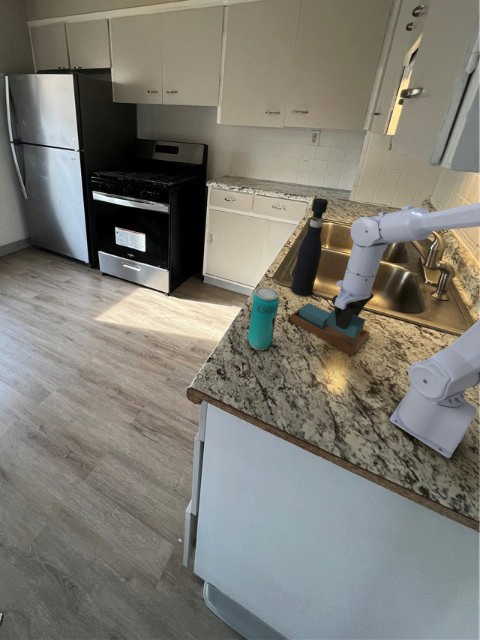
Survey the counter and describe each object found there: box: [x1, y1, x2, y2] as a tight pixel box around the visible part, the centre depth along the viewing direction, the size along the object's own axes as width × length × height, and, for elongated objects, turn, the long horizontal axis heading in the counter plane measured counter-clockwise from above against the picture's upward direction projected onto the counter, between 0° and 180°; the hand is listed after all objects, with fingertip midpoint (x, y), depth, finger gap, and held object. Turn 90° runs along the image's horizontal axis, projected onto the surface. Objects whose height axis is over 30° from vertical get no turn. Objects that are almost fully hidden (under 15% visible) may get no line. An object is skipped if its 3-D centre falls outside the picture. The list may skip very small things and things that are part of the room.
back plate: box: [289, 304, 371, 356], centre depth 83 cm, size 17×9×2 cm, turn 41°
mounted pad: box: [299, 302, 331, 329], centre depth 85 cm, size 7×4×3 cm, turn 41°
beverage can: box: [247, 286, 280, 351], centre depth 74 cm, size 6×6×15 cm
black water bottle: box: [291, 197, 329, 297], centre depth 94 cm, size 6×6×30 cm
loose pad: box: [326, 309, 366, 338], centre depth 72 cm, size 6×4×3 cm
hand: (345, 322), depth 73 cm, fingers closed on loose pad, 4 cm apart
